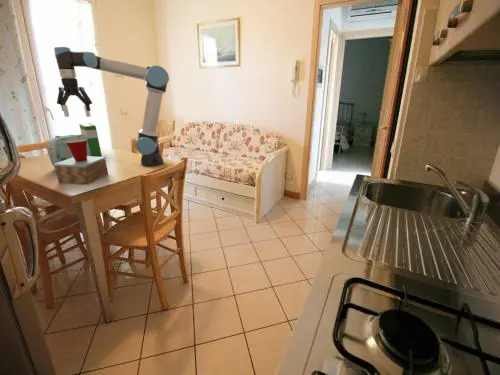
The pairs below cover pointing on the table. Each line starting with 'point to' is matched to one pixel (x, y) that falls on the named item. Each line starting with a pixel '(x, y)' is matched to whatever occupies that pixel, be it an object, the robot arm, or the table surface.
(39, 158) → the table surface
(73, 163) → the pale teal square panel
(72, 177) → the wooden box
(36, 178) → the table surface
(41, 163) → the table surface
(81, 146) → the plastic cup
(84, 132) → the hardback book
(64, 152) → the lunch box
